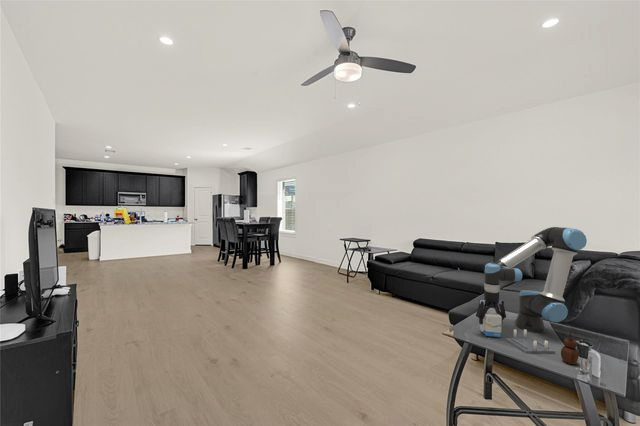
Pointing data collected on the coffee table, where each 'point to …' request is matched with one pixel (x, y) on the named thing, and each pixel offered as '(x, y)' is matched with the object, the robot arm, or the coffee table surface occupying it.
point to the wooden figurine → (569, 351)
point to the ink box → (492, 324)
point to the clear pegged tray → (529, 344)
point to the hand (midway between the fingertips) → (490, 329)
